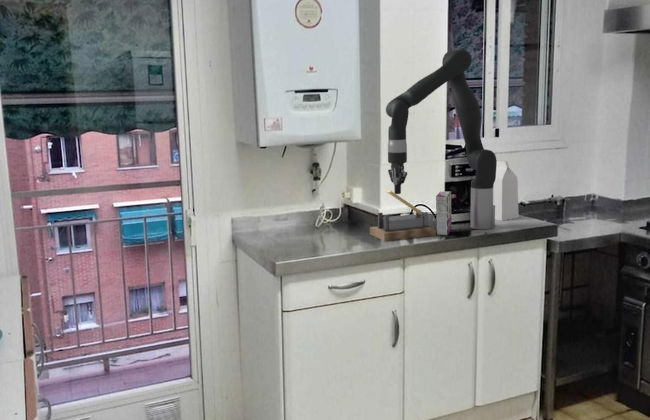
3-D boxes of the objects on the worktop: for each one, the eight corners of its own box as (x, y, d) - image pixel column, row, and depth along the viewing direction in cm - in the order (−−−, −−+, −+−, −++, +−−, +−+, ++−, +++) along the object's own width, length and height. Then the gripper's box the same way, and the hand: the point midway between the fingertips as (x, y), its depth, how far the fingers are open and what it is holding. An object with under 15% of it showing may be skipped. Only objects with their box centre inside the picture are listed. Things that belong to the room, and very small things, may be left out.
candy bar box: (439, 229, 257) (439, 191, 254) (451, 230, 255) (451, 191, 252) (435, 235, 246) (435, 195, 243) (447, 235, 245) (448, 195, 242)
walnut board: (419, 228, 259) (419, 221, 258) (435, 235, 246) (435, 227, 245) (369, 234, 251) (369, 227, 251) (384, 241, 238) (384, 233, 238)
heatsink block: (419, 223, 255) (419, 208, 254) (428, 227, 248) (428, 211, 247) (377, 228, 249) (377, 212, 248) (386, 231, 241) (385, 215, 240)
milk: (481, 217, 280) (481, 161, 276) (497, 214, 286) (498, 159, 282) (501, 221, 270) (503, 162, 266) (518, 217, 277) (520, 160, 272)
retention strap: (419, 215, 252) (421, 212, 252) (424, 217, 249) (426, 213, 249) (385, 192, 245) (387, 188, 245) (389, 193, 242) (391, 190, 242)
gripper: (413, 151, 237) (413, 195, 240) (398, 149, 249) (398, 191, 252) (396, 152, 235) (396, 196, 238) (381, 150, 247) (382, 192, 250)
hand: (397, 193), depth 245 cm, fingers closed
